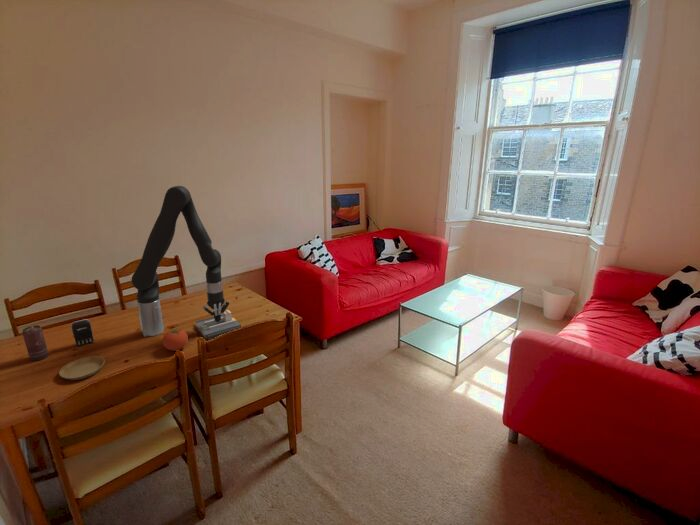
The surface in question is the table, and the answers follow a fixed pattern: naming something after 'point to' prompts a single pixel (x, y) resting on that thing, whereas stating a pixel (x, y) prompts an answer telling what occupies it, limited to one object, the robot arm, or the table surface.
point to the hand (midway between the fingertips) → (217, 321)
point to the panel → (215, 326)
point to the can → (35, 343)
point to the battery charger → (82, 332)
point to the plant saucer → (82, 368)
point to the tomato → (175, 339)
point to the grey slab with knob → (217, 332)
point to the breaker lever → (227, 316)
